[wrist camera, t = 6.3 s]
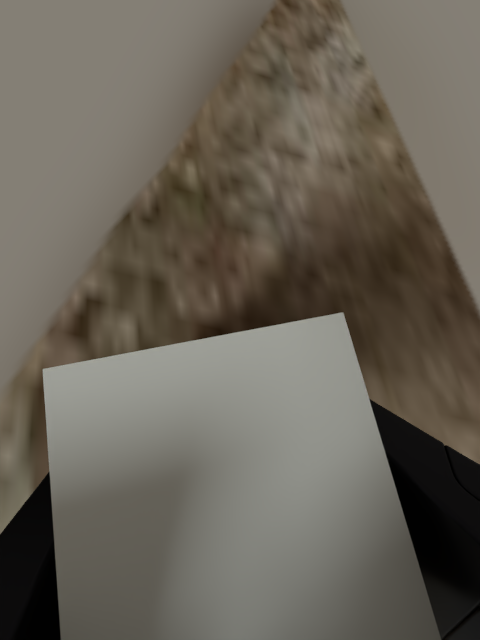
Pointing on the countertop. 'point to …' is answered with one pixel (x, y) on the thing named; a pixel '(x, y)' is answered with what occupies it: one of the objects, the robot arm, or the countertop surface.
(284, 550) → the grey post
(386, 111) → the countertop surface
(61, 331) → the countertop surface
